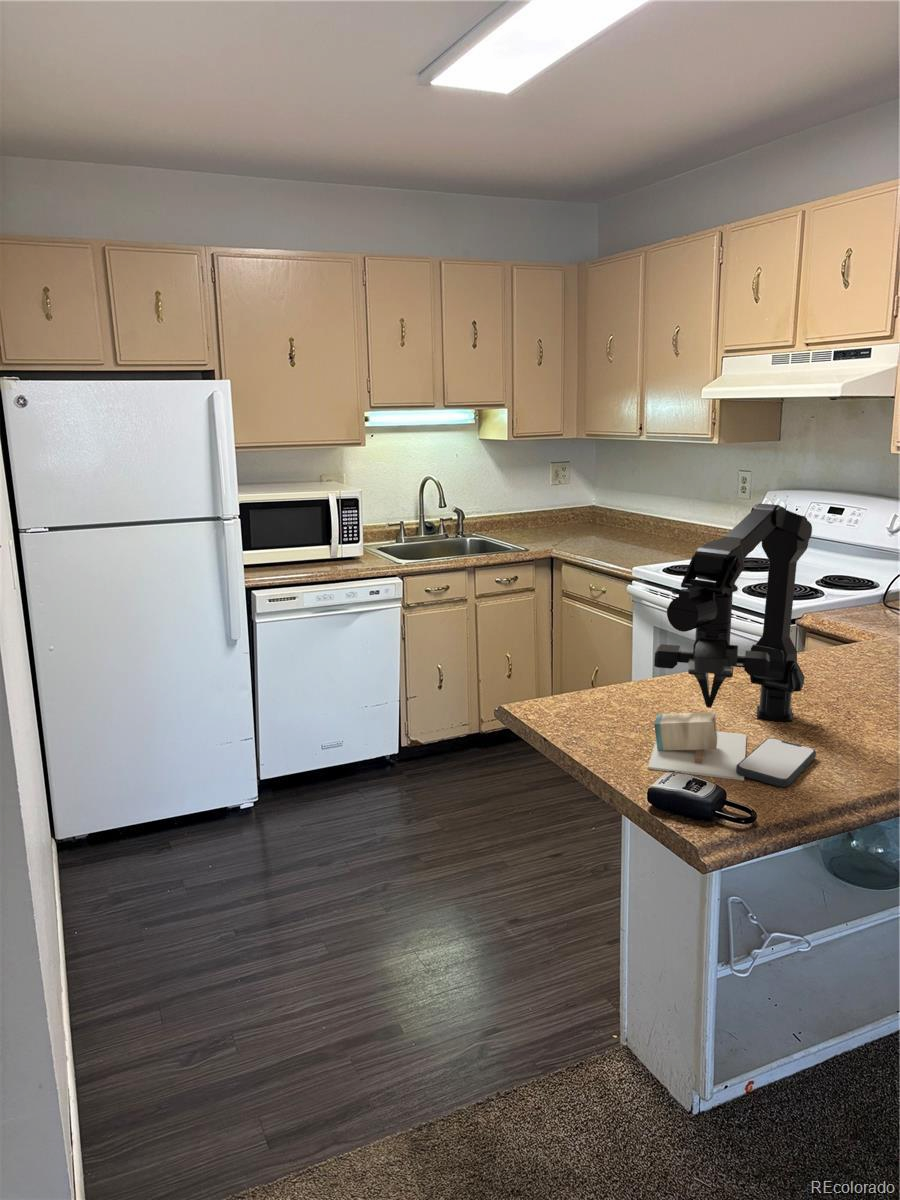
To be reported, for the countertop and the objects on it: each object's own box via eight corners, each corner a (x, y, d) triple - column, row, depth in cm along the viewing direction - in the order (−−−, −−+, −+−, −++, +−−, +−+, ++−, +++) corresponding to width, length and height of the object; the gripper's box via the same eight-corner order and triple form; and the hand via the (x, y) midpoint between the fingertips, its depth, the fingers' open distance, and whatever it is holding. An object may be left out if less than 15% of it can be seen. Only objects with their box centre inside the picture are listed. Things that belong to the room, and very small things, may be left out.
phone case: (786, 790, 137) (817, 757, 149) (787, 781, 136) (818, 749, 148) (732, 775, 142) (766, 744, 154) (733, 766, 142) (767, 736, 154)
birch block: (717, 738, 153) (660, 740, 157) (714, 712, 152) (657, 714, 156) (716, 749, 148) (657, 750, 152) (713, 721, 148) (654, 723, 151)
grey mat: (660, 727, 164) (660, 720, 164) (746, 736, 159) (746, 729, 158) (647, 768, 146) (647, 761, 145) (744, 780, 140) (744, 772, 140)
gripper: (652, 628, 142) (648, 717, 146) (772, 636, 136) (765, 729, 139) (659, 612, 152) (656, 696, 156) (771, 619, 146) (765, 706, 150)
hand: (709, 706), depth 150 cm, fingers closed
